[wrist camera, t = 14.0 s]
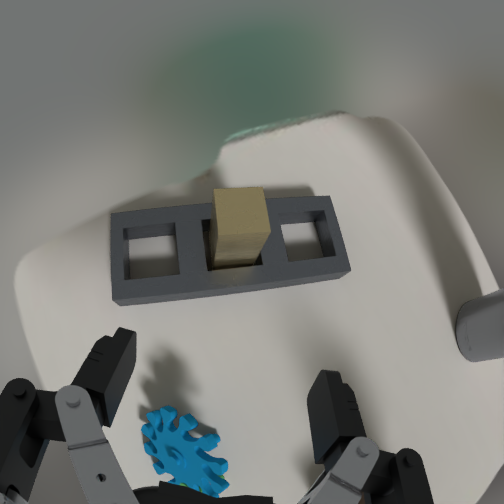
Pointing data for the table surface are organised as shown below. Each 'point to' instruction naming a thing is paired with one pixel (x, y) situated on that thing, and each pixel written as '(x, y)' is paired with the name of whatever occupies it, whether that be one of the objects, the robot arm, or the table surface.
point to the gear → (184, 452)
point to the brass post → (237, 227)
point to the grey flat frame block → (228, 280)
